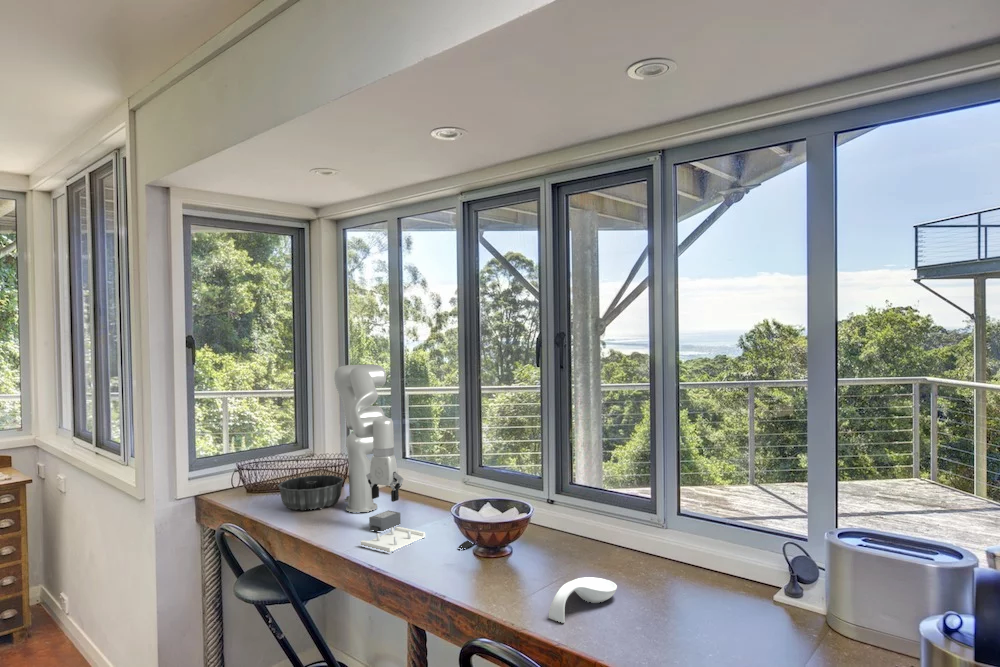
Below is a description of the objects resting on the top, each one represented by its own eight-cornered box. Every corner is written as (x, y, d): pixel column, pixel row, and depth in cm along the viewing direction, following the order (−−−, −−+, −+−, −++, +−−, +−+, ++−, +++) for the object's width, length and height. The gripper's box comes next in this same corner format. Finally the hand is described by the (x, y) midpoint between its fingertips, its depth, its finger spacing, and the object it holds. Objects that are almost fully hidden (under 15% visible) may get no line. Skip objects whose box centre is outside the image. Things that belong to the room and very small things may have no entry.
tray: (361, 547, 207) (360, 536, 207) (397, 531, 222) (397, 522, 222) (389, 554, 200) (389, 543, 200) (425, 538, 215) (425, 528, 215)
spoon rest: (587, 585, 174) (587, 560, 174) (625, 596, 167) (624, 570, 167) (537, 616, 156) (537, 587, 156) (576, 630, 149) (576, 600, 149)
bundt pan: (279, 500, 267) (279, 477, 267) (342, 494, 275) (342, 472, 275) (277, 517, 242) (276, 492, 242) (346, 510, 250) (345, 486, 250)
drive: (368, 531, 224) (368, 517, 224) (388, 523, 233) (388, 509, 233) (380, 534, 221) (380, 519, 221) (400, 526, 230) (400, 512, 230)
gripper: (359, 452, 228) (360, 499, 228) (394, 455, 219) (395, 504, 218) (373, 449, 234) (375, 494, 234) (408, 452, 225) (409, 499, 225)
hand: (385, 499), depth 226 cm, fingers open, 9 cm apart
